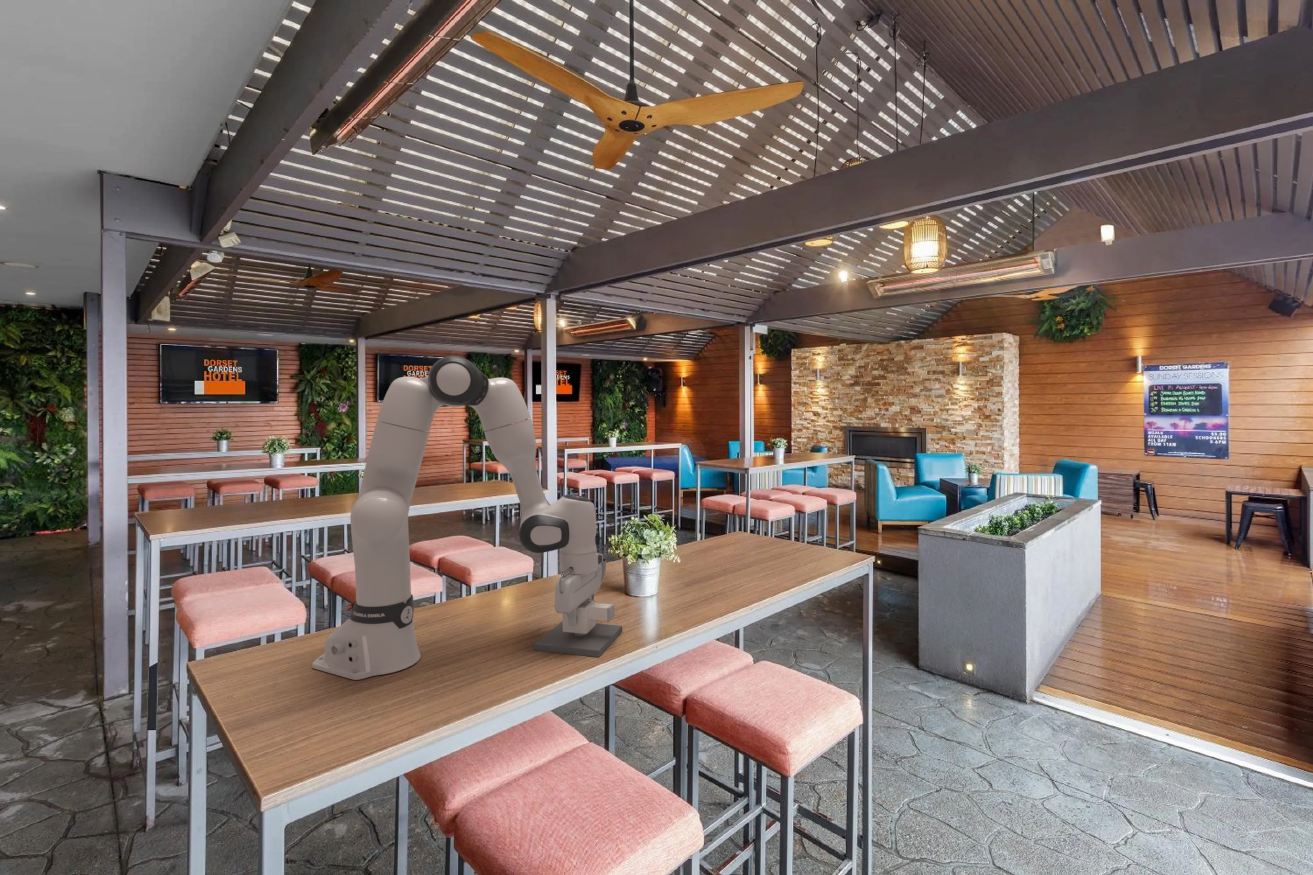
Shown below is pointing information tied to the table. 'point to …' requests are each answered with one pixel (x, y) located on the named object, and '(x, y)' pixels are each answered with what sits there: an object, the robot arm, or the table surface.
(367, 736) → the table surface
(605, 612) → the elbow
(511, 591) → the table surface
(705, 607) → the table surface
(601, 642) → the base
